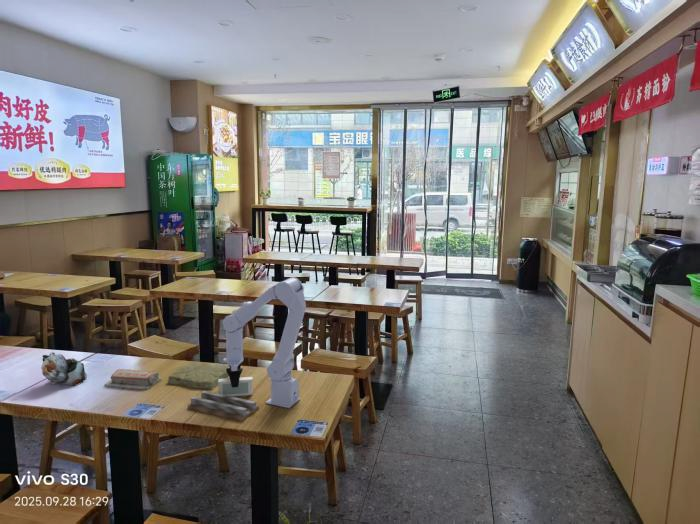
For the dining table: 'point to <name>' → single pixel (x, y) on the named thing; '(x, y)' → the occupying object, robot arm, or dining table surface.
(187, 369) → the green stone slab
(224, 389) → the tall cream box
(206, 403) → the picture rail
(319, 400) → the dining table surface
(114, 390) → the dining table surface
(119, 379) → the packaged product
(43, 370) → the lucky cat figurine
